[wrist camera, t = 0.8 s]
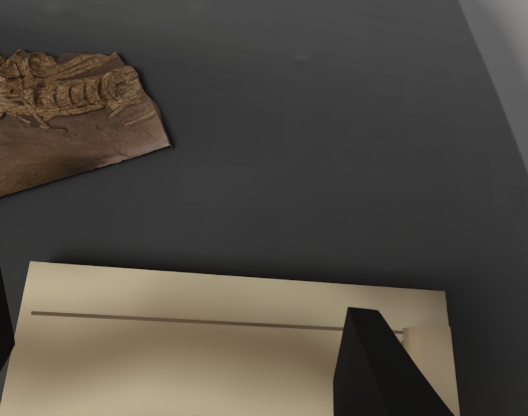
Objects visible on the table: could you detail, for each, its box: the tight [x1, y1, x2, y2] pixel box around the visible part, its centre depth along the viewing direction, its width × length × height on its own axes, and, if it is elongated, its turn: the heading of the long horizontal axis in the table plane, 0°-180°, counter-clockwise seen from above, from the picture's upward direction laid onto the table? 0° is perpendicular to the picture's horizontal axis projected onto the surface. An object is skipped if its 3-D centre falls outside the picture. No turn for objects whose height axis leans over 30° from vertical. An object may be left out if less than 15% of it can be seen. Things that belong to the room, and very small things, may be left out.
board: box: [0, 261, 449, 416], centre depth 23 cm, size 8×22×2 cm, turn 88°
